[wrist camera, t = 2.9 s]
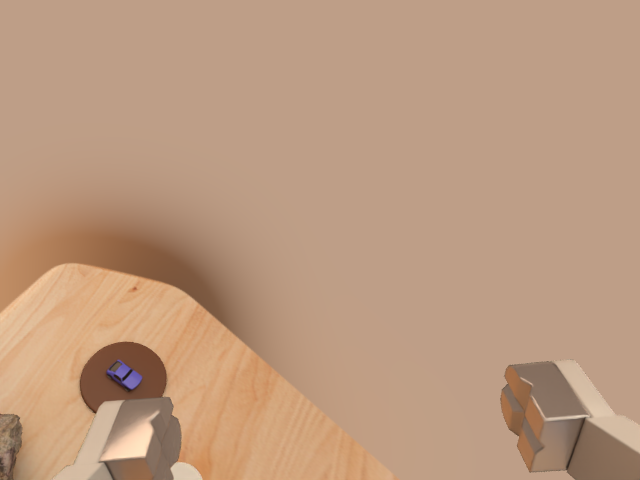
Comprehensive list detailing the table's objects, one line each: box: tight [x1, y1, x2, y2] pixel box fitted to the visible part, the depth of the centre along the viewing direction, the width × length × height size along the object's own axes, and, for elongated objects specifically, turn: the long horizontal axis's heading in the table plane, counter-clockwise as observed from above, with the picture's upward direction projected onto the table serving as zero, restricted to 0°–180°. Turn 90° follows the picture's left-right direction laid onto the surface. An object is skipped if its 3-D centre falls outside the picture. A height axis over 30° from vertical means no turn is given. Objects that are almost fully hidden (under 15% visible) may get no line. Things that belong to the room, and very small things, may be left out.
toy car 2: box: [80, 342, 166, 413], centre depth 46 cm, size 8×8×2 cm
